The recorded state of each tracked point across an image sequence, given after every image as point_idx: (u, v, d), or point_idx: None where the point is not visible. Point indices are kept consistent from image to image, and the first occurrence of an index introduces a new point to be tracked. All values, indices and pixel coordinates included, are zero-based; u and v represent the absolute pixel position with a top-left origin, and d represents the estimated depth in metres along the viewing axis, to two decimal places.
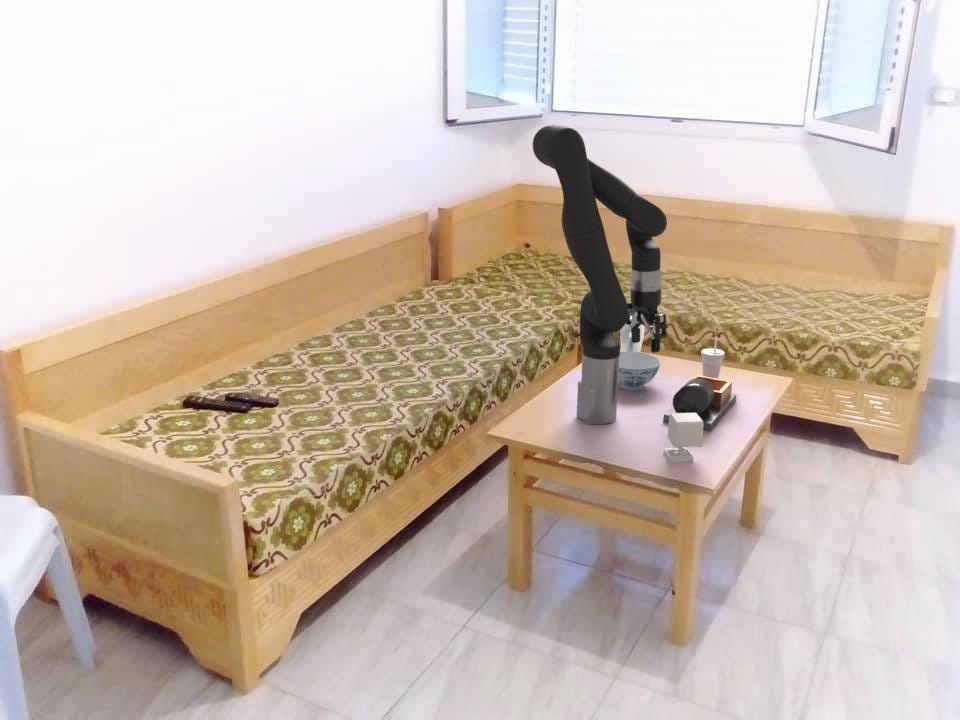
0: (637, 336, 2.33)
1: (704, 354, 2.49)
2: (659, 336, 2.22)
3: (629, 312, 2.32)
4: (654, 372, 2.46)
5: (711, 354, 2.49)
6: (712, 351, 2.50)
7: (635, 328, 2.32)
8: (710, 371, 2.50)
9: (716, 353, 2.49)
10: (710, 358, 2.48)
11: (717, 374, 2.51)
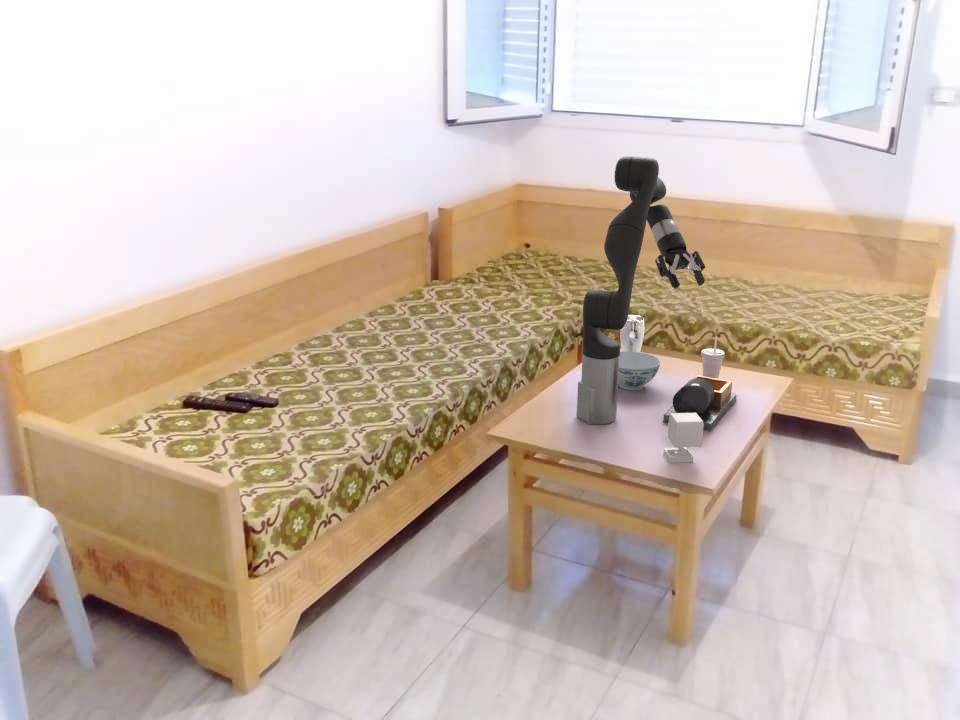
0: None
1: (704, 354, 2.49)
2: None
3: None
4: (654, 372, 2.46)
5: (711, 354, 2.49)
6: (712, 351, 2.50)
7: None
8: (710, 371, 2.50)
9: (716, 353, 2.49)
10: (710, 358, 2.48)
11: (717, 374, 2.51)
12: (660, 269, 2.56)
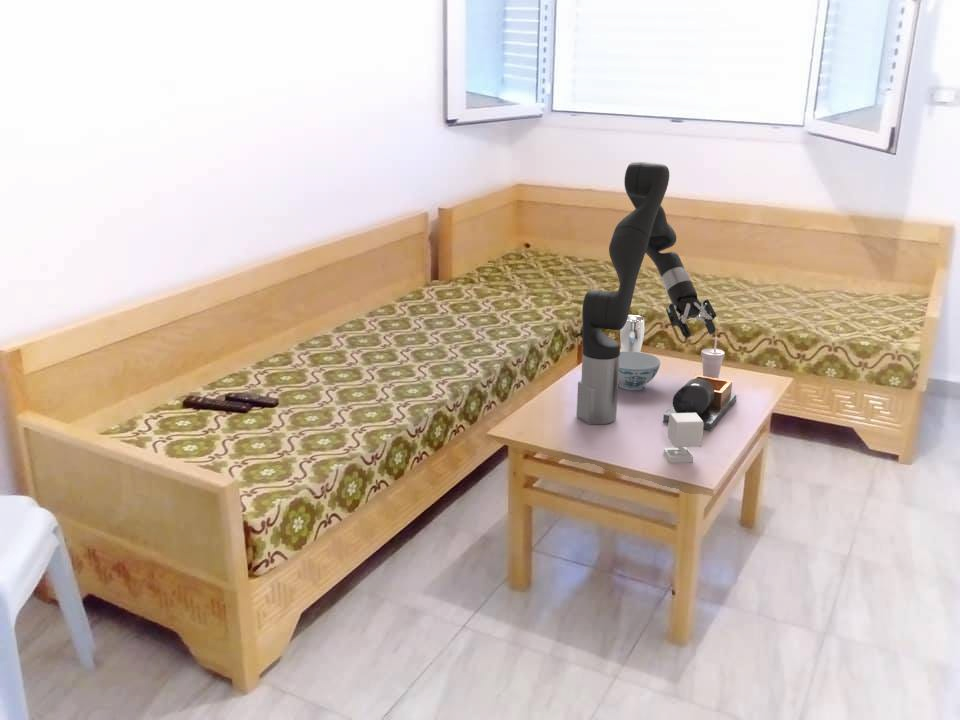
0: None
1: (704, 354, 2.49)
2: None
3: None
4: (654, 372, 2.46)
5: (711, 354, 2.49)
6: (712, 351, 2.50)
7: None
8: (710, 371, 2.50)
9: (716, 353, 2.49)
10: (710, 358, 2.48)
11: (717, 374, 2.51)
12: (671, 318, 2.55)
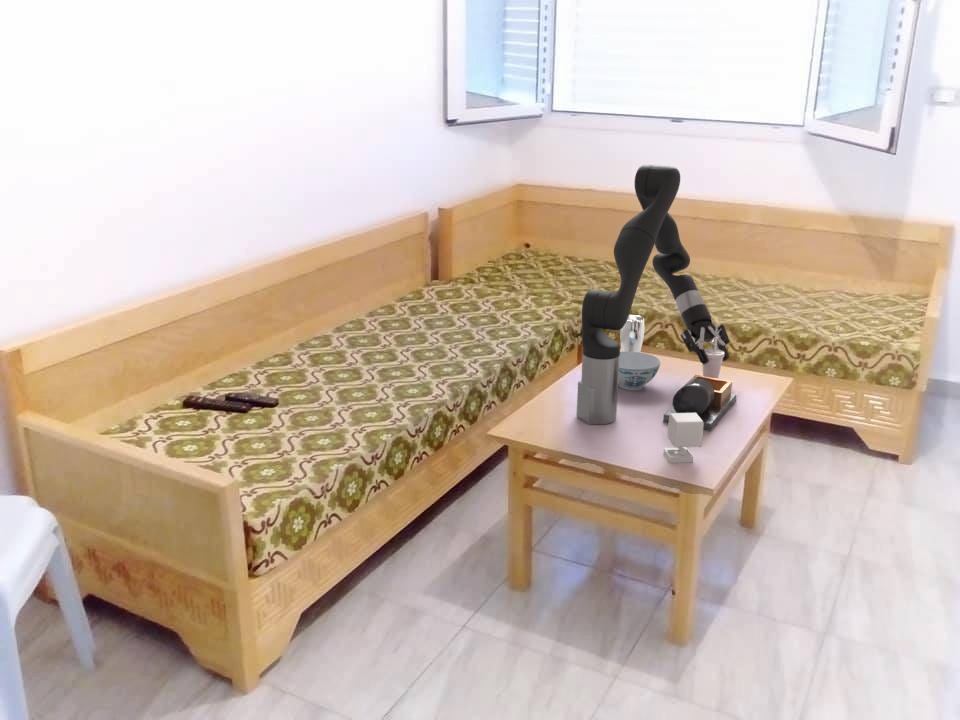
0: None
1: None
2: None
3: None
4: (654, 372, 2.46)
5: (711, 354, 2.48)
6: (712, 351, 2.50)
7: None
8: (710, 371, 2.50)
9: (716, 353, 2.49)
10: (710, 358, 2.48)
11: (717, 374, 2.51)
12: (687, 344, 2.50)
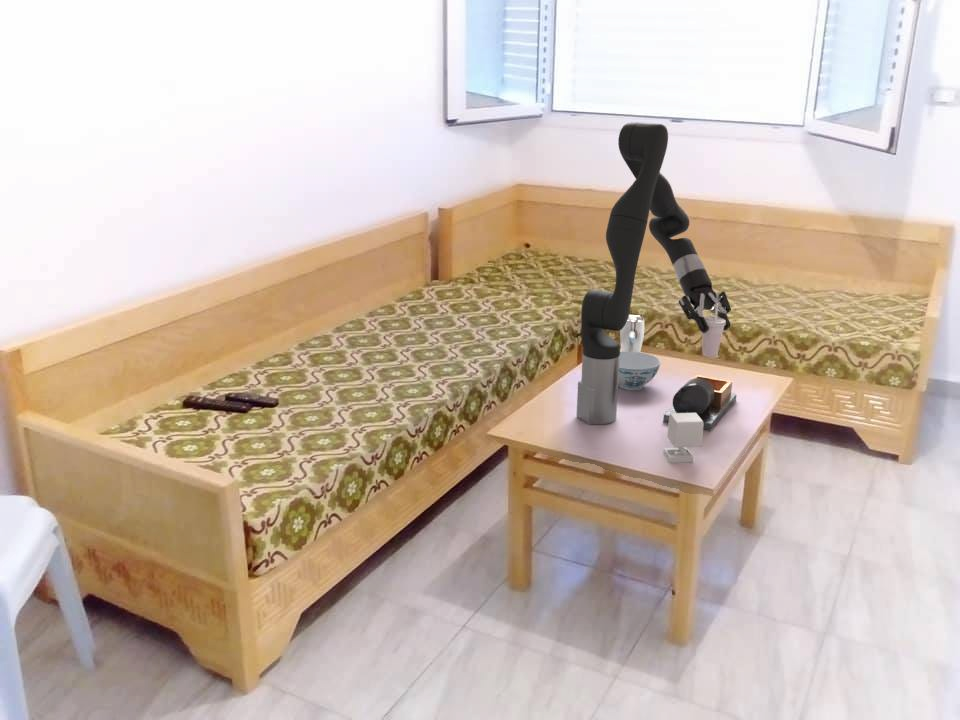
0: None
1: None
2: None
3: None
4: (654, 372, 2.46)
5: (711, 322, 2.30)
6: (712, 319, 2.32)
7: None
8: (710, 340, 2.32)
9: (717, 321, 2.31)
10: (710, 326, 2.30)
11: (718, 344, 2.33)
12: (686, 311, 2.32)
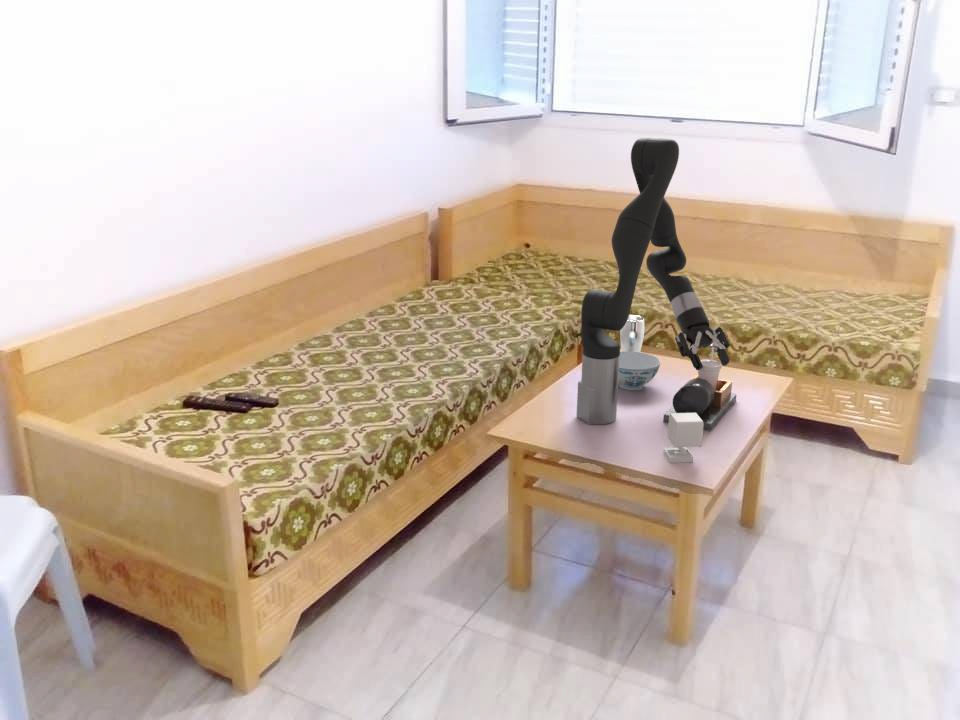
0: None
1: None
2: None
3: None
4: (654, 372, 2.46)
5: (707, 366, 2.33)
6: (708, 362, 2.35)
7: None
8: None
9: (713, 364, 2.34)
10: (706, 370, 2.33)
11: (714, 387, 2.35)
12: (681, 348, 2.35)
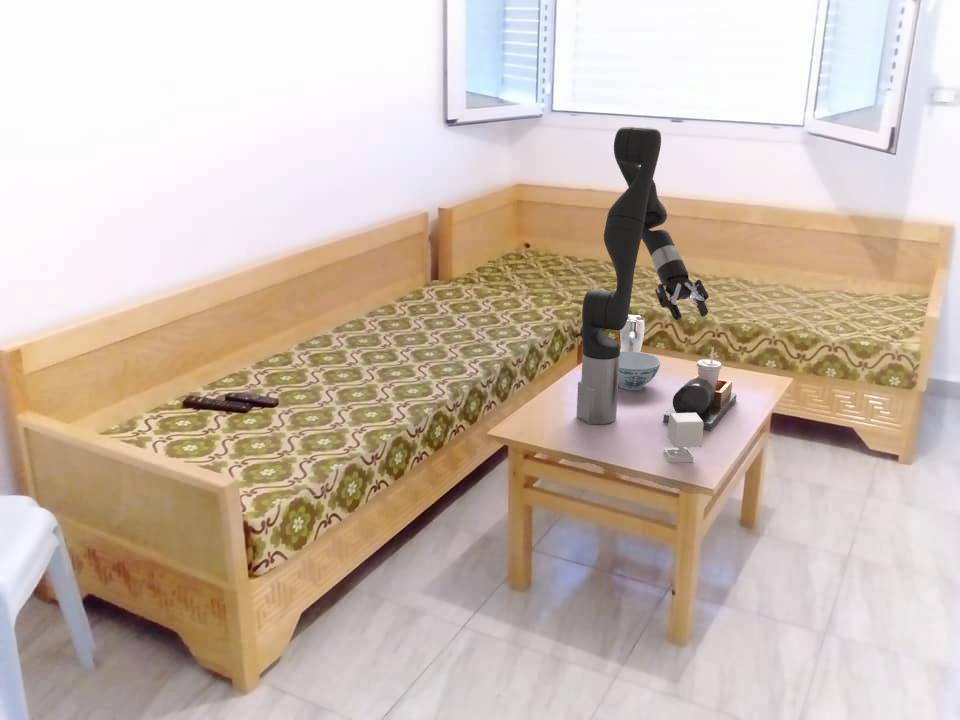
0: None
1: (700, 365, 2.34)
2: None
3: None
4: (654, 372, 2.46)
5: (707, 366, 2.33)
6: (708, 362, 2.35)
7: None
8: None
9: (713, 364, 2.34)
10: (706, 370, 2.33)
11: (714, 387, 2.35)
12: (660, 299, 2.40)
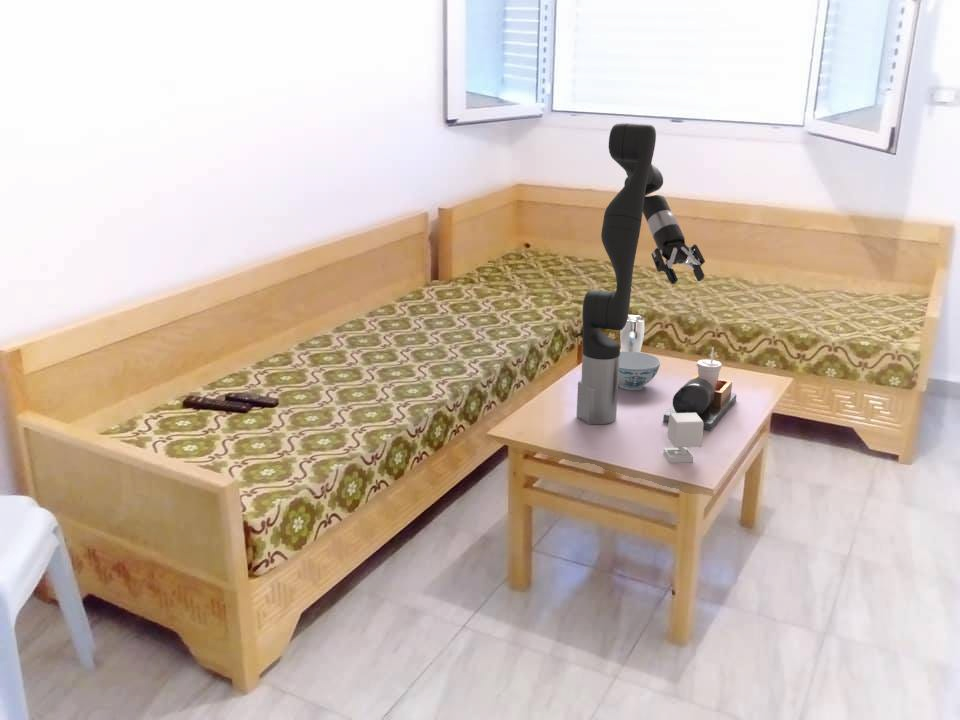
0: None
1: (700, 366, 2.34)
2: None
3: None
4: (654, 372, 2.46)
5: (707, 366, 2.33)
6: (708, 362, 2.35)
7: None
8: None
9: (713, 364, 2.34)
10: (706, 370, 2.33)
11: (714, 387, 2.35)
12: (657, 263, 2.41)
